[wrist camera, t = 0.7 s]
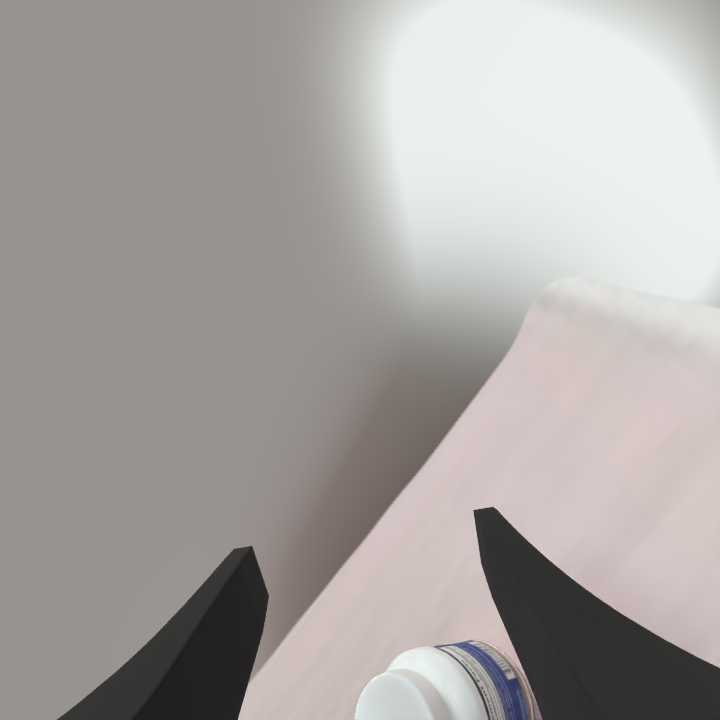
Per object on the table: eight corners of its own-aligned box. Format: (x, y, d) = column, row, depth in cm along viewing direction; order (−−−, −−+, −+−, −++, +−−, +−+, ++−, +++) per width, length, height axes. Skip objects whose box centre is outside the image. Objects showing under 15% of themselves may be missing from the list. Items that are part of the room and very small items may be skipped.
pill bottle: (458, 769, 21) (348, 844, 14) (432, 647, 24) (333, 663, 18) (555, 763, 19) (479, 848, 12) (512, 631, 22) (433, 641, 16)
